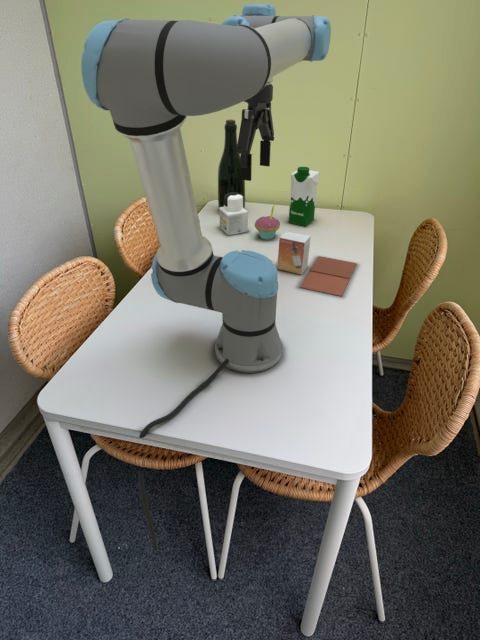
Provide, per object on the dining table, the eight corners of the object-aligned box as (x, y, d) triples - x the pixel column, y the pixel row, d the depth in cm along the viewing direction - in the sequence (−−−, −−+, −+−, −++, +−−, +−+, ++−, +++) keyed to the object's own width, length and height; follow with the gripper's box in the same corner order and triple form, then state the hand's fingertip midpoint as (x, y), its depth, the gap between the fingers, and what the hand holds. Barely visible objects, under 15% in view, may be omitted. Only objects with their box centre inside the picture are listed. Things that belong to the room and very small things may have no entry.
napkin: (341, 296, 121) (342, 294, 120) (299, 287, 124) (299, 285, 124) (356, 264, 136) (356, 263, 135) (318, 257, 139) (318, 256, 139)
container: (219, 227, 158) (218, 192, 151) (238, 224, 161) (238, 189, 154) (228, 235, 153) (227, 199, 145) (248, 231, 155) (248, 196, 148)
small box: (276, 269, 133) (278, 237, 127) (283, 261, 137) (285, 230, 131) (301, 275, 130) (304, 242, 124) (307, 267, 134) (311, 235, 128)
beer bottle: (223, 204, 177) (221, 116, 158) (248, 207, 174) (249, 118, 155) (214, 214, 169) (211, 122, 150) (240, 217, 166) (240, 124, 147)
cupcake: (279, 232, 155) (281, 199, 148) (278, 242, 148) (280, 208, 141) (255, 231, 156) (255, 198, 149) (253, 241, 149) (254, 207, 142)
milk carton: (285, 222, 162) (288, 168, 150) (296, 215, 168) (300, 161, 157) (306, 228, 158) (312, 172, 147) (317, 219, 164) (323, 165, 153)
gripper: (252, 91, 95) (251, 188, 107) (288, 77, 113) (283, 161, 126) (221, 89, 97) (223, 184, 109) (261, 76, 116) (259, 159, 128)
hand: (255, 172), depth 118 cm, fingers open, 13 cm apart
